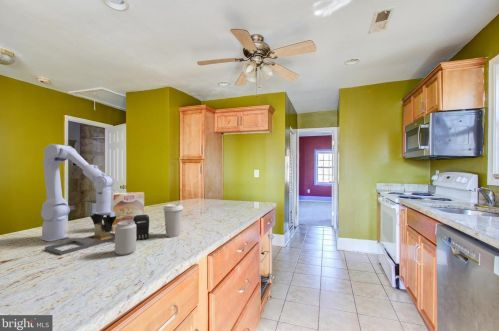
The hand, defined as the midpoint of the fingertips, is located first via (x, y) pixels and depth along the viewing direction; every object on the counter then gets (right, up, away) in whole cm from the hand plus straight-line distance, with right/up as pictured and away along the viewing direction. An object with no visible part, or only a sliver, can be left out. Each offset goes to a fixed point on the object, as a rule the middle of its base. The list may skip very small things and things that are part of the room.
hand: (103, 230), depth 108 cm
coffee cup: (+30, -4, +7) cm, 32 cm away
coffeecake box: (+2, -4, +19) cm, 20 cm away
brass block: (0, -4, 0) cm, 4 cm away
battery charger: (+18, -4, 0) cm, 18 cm away
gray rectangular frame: (-3, -4, -6) cm, 8 cm away
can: (+20, -4, -17) cm, 26 cm away
